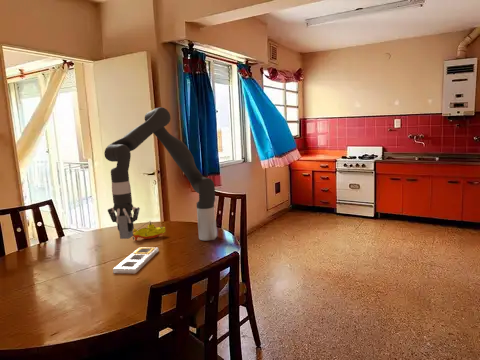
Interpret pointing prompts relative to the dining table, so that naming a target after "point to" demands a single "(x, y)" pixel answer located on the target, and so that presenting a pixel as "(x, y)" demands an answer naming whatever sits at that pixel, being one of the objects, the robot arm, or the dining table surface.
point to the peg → (124, 227)
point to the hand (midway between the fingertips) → (125, 230)
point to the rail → (140, 253)
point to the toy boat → (148, 232)
